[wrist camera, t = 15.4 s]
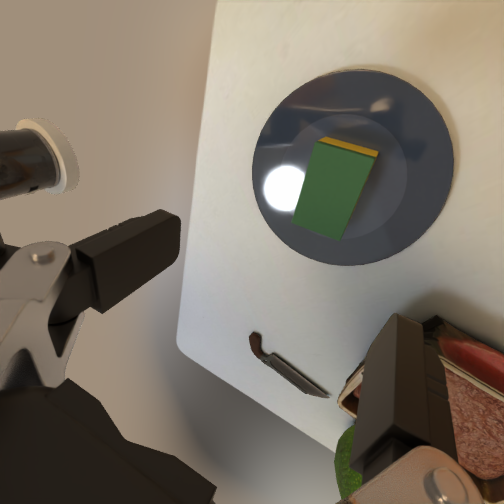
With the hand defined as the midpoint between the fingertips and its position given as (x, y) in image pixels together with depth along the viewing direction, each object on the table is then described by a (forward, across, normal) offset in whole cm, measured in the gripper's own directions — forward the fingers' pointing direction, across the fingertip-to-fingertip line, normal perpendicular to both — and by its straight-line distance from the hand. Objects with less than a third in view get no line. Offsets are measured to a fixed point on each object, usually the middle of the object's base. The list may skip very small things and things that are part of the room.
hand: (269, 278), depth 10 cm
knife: (+19, -2, +29) cm, 35 cm away
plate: (+19, +1, +1) cm, 19 cm away
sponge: (+18, +1, +1) cm, 18 cm away
